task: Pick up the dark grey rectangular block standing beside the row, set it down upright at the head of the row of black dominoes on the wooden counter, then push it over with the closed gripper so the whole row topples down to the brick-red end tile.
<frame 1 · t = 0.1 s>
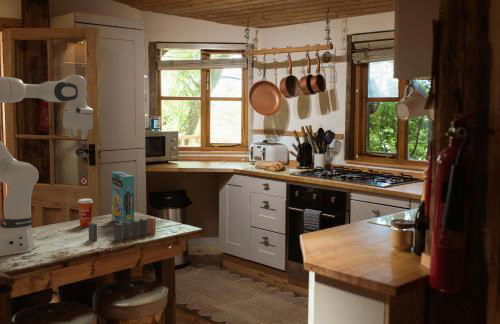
hand: (77, 138, 264), 48 cm above the table, tool pointing down, fingers open, 8 cm apart
end tile: (151, 233, 277), on the table
game box: (122, 223, 299), on the table
tile 4: (135, 236, 270), on the table
tile 5: (143, 235, 274), on the table
dark grey rectangular block: (92, 240, 262), on the table
paper cup: (85, 226, 292), on the table
tile 2: (118, 240, 262), on the table
tile 3: (127, 238, 266), on the table
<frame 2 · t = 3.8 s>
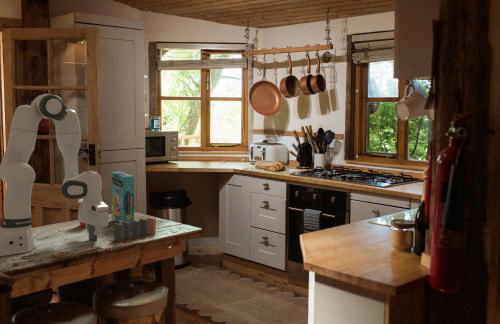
hand: (92, 233, 262), 3 cm above the table, tool pointing down, fingers closed on dark grey rectangular block, 4 cm apart
dark grey rectangular block: (92, 240, 262), on the table, touching gripper
everything else where it was.
when the fingers open (4 cm above the table, at t = 8.7 s): dark grey rectangular block stays where it is, on the table.
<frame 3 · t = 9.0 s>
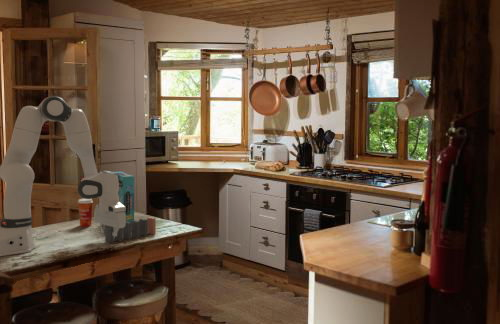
hand: (109, 234, 258), 4 cm above the table, tool pointing down, fingers open, 7 cm apart
dark grey rectangular block: (109, 242, 259), on the table
everything else where it was.
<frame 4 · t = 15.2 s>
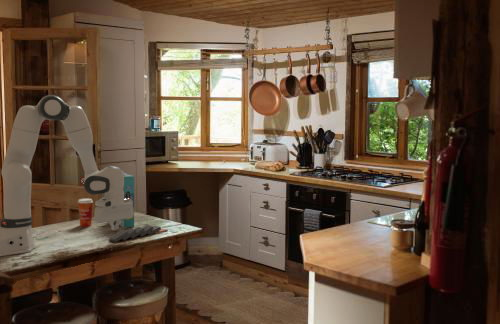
hand: (114, 229, 260), 6 cm above the table, tool pointing down, fingers closed
end tile: (152, 233, 278), on the table, tilted 90°
tile 4: (138, 234, 271), point 1 cm above the table, tilted 71°, touching tile 3, tile 5
tile 5: (145, 233, 275), point 1 cm above the table, tilted 79°, touching tile 4
dark grey rectangular block: (112, 240, 260), point 1 cm above the table, tilted 71°, touching tile 2
tile 2: (120, 238, 263), point 1 cm above the table, tilted 71°, touching dark grey rectangular block, tile 3
tile 3: (128, 236, 267), point 1 cm above the table, tilted 72°, touching tile 2, tile 4
everything else where it was.
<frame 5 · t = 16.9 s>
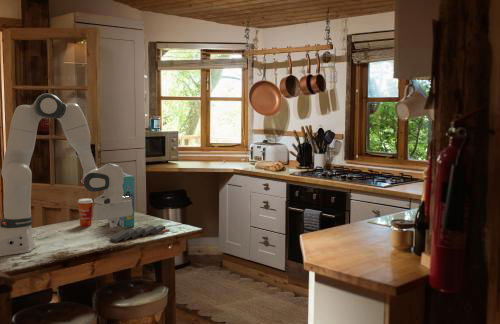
hand: (113, 227, 260), 7 cm above the table, tool pointing down, fingers closed
end tile: (154, 232, 279), on the table, tilted 90°, touching tile 5
tile 4: (140, 234, 272), point 1 cm above the table, tilted 72°
tile 5: (149, 232, 276), point 1 cm above the table, tilted 76°, touching end tile
dark grey rectangular block: (113, 240, 260), point 1 cm above the table, tilted 71°, touching tile 2
tile 3: (129, 236, 268), point 1 cm above the table, tilted 73°, touching tile 2
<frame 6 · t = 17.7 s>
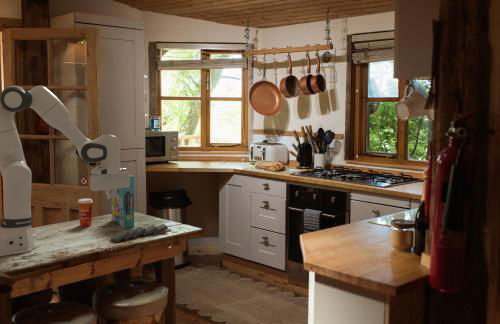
hand: (110, 198, 257), 21 cm above the table, tool pointing down, fingers closed
tile 4: (141, 234, 272), point 1 cm above the table, tilted 73°, touching tile 5
tile 5: (151, 232, 276), point 1 cm above the table, tilted 74°, touching end tile, tile 4
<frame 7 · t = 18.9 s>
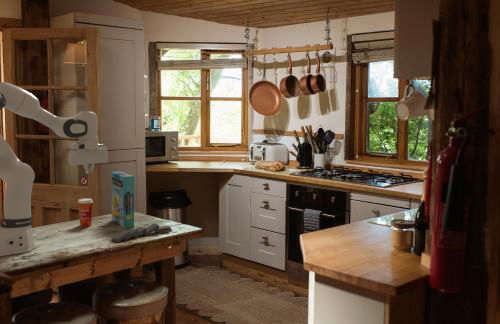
hand: (89, 173, 266), 31 cm above the table, tool pointing down, fingers closed
end tile: (156, 232, 279), on the table, tilted 90°
tile 4: (143, 233, 273), point 1 cm above the table, tilted 66°, touching tile 3
tile 5: (154, 229, 277), point 2 cm above the table, tilted 88°
tile 3: (131, 235, 269), point 1 cm above the table, tilted 74°, touching tile 2, tile 4
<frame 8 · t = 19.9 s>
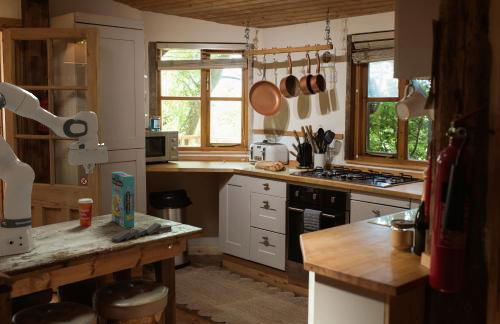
hand: (89, 173, 266), 31 cm above the table, tool pointing down, fingers closed
tile 4: (146, 233, 275), point 1 cm above the table, tilted 67°, touching tile 3
tile 5: (155, 229, 280), point 2 cm above the table, tilted 90°
at the end: end tile tilted 90°; dark grey rectangular block inside the target area (2.5 cm from its centre), point 0.7 cm above the table; dark grey rectangular block tilted 72° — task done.
